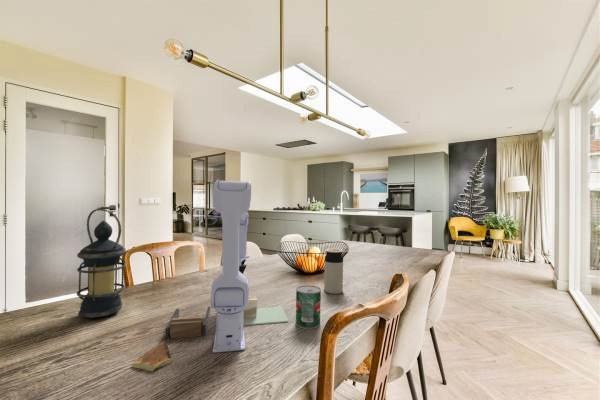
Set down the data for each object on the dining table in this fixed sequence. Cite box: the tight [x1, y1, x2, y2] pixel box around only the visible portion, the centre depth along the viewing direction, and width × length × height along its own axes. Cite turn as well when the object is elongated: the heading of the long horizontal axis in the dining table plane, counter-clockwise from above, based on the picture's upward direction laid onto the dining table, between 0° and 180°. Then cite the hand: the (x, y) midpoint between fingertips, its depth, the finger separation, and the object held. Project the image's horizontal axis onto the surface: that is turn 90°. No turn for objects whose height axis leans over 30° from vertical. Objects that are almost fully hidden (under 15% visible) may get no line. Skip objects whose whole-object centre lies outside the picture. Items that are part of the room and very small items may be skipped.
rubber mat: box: [243, 306, 289, 327], centre depth 92 cm, size 12×20×1 cm, turn 103°
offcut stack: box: [170, 315, 204, 339], centre depth 79 cm, size 4×8×4 cm, turn 103°
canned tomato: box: [295, 284, 322, 330], centre depth 87 cm, size 8×8×11 cm
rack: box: [164, 306, 212, 340], centre depth 84 cm, size 14×11×3 cm
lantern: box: [76, 208, 127, 319], centre depth 91 cm, size 14×13×35 cm
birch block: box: [243, 295, 258, 319], centre depth 91 cm, size 4×8×6 cm, turn 104°
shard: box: [131, 339, 173, 372], centre depth 67 cm, size 11×8×2 cm
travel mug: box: [323, 248, 344, 295], centre depth 120 cm, size 8×8×18 cm
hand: (237, 281), depth 99 cm, fingers open, 7 cm apart
